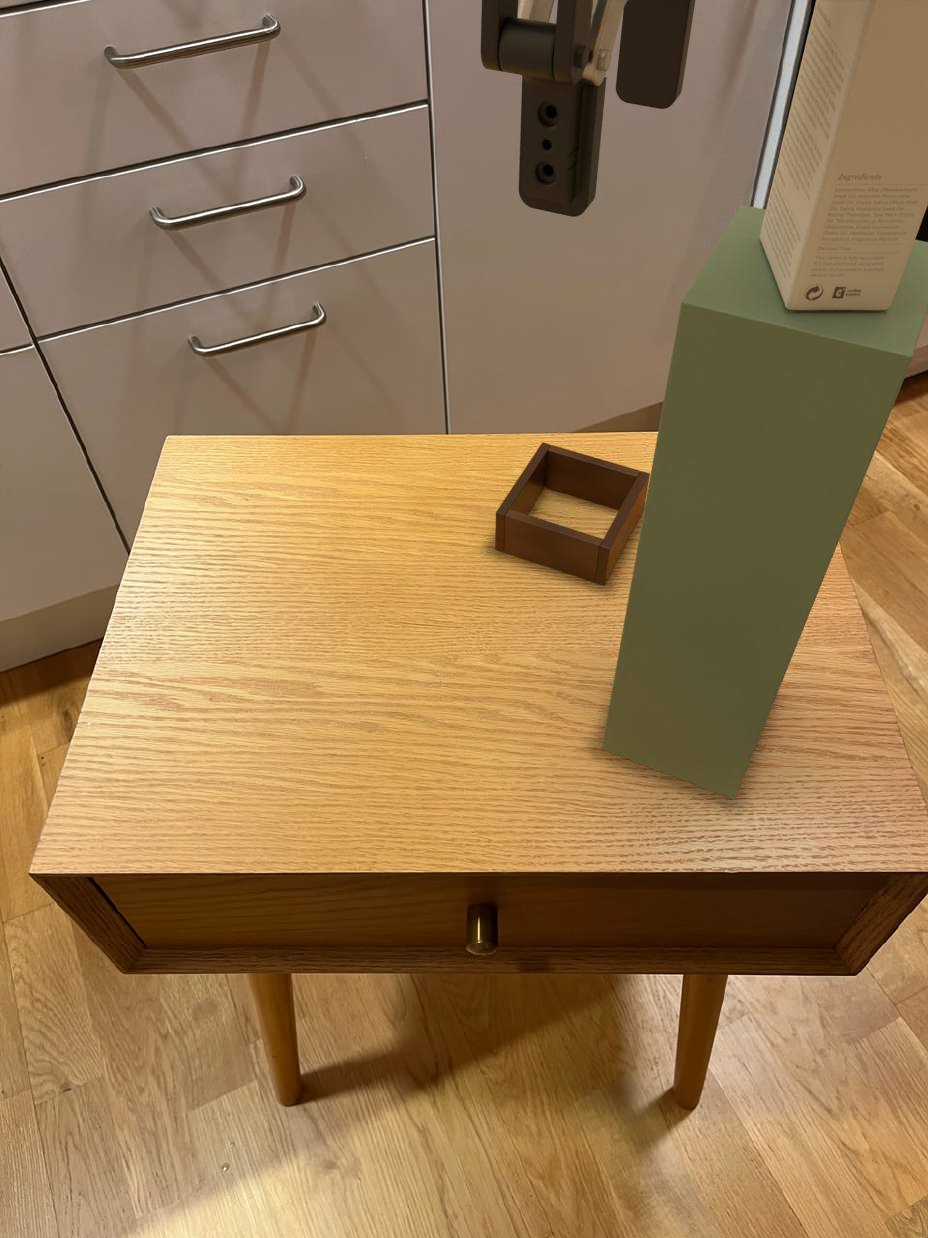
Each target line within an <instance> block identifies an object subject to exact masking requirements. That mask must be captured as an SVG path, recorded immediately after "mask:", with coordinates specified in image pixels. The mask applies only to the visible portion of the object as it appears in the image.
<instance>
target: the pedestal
mask: <svg viewBox="0 0 928 1238" xmlns="http://www.w3.org/2000/svg"><path fill="white" fill-rule="evenodd" d="M765 212H766V208H760V207H756V206H751V205H745V204H740V206H739V207H738V208H737V210H736V211H735V213H734V215H733V216H732V218H731V220H730V221H729V223H728V225H727V226H726V228H725V229H724V232H723V233H722V235H721V237H720V238H719V240H718V241H717V243H716V245H715V247H714V248H713V250H712V251H711V253H710V254H709V256H708V258H707V260H706V261H705V263H704V265H703V266H702V268H701V270H700V271H699V273H698V275H697V276H696V278H695V280H694V281H693V283H692V284H691V286H690V287H689V289H688V290H687V292H686V294H685V296H684V298H683V299H682V301H681V303H680V308H679V314H678V320H677V324H676V331H675V336H674V342H673V348H672V353H671V358H670V362H669V363H670V364H669V370H668V375H667V380H666V386H665V390H664V397H663V403H662V409H661V415H660V419H659V425H658V430H657V437H656V441H655V447H654V453H653V459H652V464H651V469H650V478H649V483H648V489H647V495H646V500H645V506H644V511H643V513H642V519H641V526H640V532H639V537H638V538H639V539H638V543H637V549H636V555H635V560H634V565H633V570H632V576H631V580H630V581H631V582H630V587H629V592H628V599H627V604H626V610H625V614H624V615H625V616H624V621H623V627H622V632H621V637H620V643H619V649H618V654H617V659H616V660H617V662H616V666H615V671H614V676H613V683H612V689H611V694H610V698H609V704H608V711H607V717H606V720H605V721H606V722H605V728H604V731H603V732H604V733H603V738H602V743H601V750H603V751H606V752H608V753H611V754H614V755H616V756H618V757H622V758H624V759H627V760H628V761H629V760H630V761H632V762H634V763H637V764H640V765H643V766H645V767H647V768H650V769H653V770H654V771H657V772H660V773H663V774H665V775H667V776H668V775H669V776H671V777H673V778H676V779H678V780H681V781H684V782H687V783H689V784H692V785H694V786H697V787H700V788H702V789H705V790H707V791H710V792H713V793H715V794H717V795H720V796H722V797H725V798H727V799H731V800H736V798H737V795H738V793H739V791H740V787H741V785H742V783H743V781H744V778H745V775H746V774H747V773H746V772H747V770H748V768H749V765H750V763H751V760H752V758H753V755H754V753H755V751H756V748H757V745H758V743H759V741H760V738H761V735H762V734H763V731H764V728H765V725H766V723H767V722H768V721H767V720H768V718H769V716H770V714H771V710H772V708H773V706H774V703H775V702H776V698H777V696H778V693H779V691H780V689H781V686H782V684H783V681H784V678H785V676H786V674H787V671H788V668H789V666H790V664H791V661H792V658H793V656H794V653H795V651H796V649H797V646H798V644H799V641H800V640H801V639H800V638H801V636H802V634H803V631H804V629H805V626H806V624H807V621H808V618H809V617H810V613H811V611H812V609H813V606H814V604H815V601H816V599H817V596H818V594H819V592H820V589H821V586H822V584H823V583H824V582H823V581H824V579H825V577H826V574H827V571H828V569H829V568H830V567H829V566H830V564H831V563H832V562H831V561H832V559H833V557H834V554H835V552H836V549H837V547H838V544H839V541H840V539H841V537H842V534H843V532H844V529H845V527H846V524H847V522H848V519H849V516H850V515H851V512H852V509H853V506H854V504H855V502H856V500H857V498H858V495H859V492H860V489H861V488H862V485H863V482H864V479H865V478H866V474H867V473H868V470H869V467H870V465H871V462H872V459H873V457H874V454H875V453H876V450H877V447H878V445H879V443H880V440H881V438H882V435H883V432H884V431H885V428H886V426H887V422H888V420H889V418H890V415H891V412H892V410H893V407H894V405H895V403H896V400H897V398H898V395H899V393H900V391H901V387H902V386H903V383H904V380H905V378H906V375H907V373H908V370H909V368H910V366H911V364H912V360H913V357H914V355H915V351H916V348H917V345H918V343H919V338H920V334H921V332H922V329H923V325H924V322H925V319H926V315H927V312H928V241H924V240H919V239H915V241H914V244H913V247H912V249H911V252H910V255H909V257H908V260H907V263H906V266H905V269H904V272H903V275H902V277H901V280H900V282H899V285H898V288H897V290H896V293H895V296H894V299H893V301H892V304H891V306H890V308H889V309H887V310H789V309H787V308H786V307H785V304H784V301H783V298H782V295H781V293H780V290H779V287H778V285H777V282H776V279H775V277H774V274H773V271H772V269H771V266H770V263H769V261H768V258H767V255H766V253H765V250H764V248H763V245H762V242H761V240H760V233H761V228H762V224H763V220H764V216H765Z"/></svg>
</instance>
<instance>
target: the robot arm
mask: <svg viewBox="0 0 928 1238" xmlns="http://www.w3.org/2000/svg"><path fill="white" fill-rule="evenodd" d="M554 4H555V0H481V16H480V17H481V18H480V19H481V20H480V21H481V22H480V57H481V58H480V59H481V64H482V66H483V68H484V69H486V70H490V71H496V72H503V73H508V74H513V75H520V76H521V100H520V101H521V103H520V131H519V132H520V134H519V136H520V137H519V161H518V162H519V163H518V165H519V166H518V167H519V168H518V195H519V198H520V200H521V201H522V203H523V204H524V205H526V206H527V207H529V208H531V209H534V210H539V211H542V212H543V211H544V212H549V213H552V214H557V215H561V216H566V217H572V218H575V217H580V216H581V215H583V214H584V213H585V211H587V209H588V208H589V207H590V205H591V204H592V203H593V202H594V200H595V199H596V194H597V186H598V185H597V182H598V174H599V173H598V172H599V163H600V154H601V153H600V151H601V142H602V141H601V140H602V131H603V120H604V109H605V97H606V90H607V89H606V88H607V77H606V75H607V72H608V71H609V68H610V65H611V62H612V53H613V50H614V46H615V42H616V38H617V35H618V31H619V27H620V23H621V30H620V40H619V50H618V59H617V60H618V62H617V69H616V78H615V79H616V80H615V81H616V82H615V92H616V95H617V97H618V98H619V100H621V101H622V102H623V103H626V104H630V105H637V106H642V107H648V108H652V109H657V110H665V109H668V108H670V107H672V105H673V104H674V103H675V102H676V101H677V99H678V98H679V97H680V96H681V94H682V91H683V86H684V85H683V84H684V79H685V71H686V65H687V60H688V52H689V46H690V41H691V40H690V39H691V32H692V25H693V19H694V12H695V6H696V0H557V6H556V7H557V8H556V9H557V10H556V19H555V23H554V22H550V20H551V15H552V12H553V7H554ZM621 20H622V21H621Z"/></svg>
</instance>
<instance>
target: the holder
mask: <svg viewBox="0 0 928 1238" xmlns="http://www.w3.org/2000/svg"><path fill="white" fill-rule="evenodd" d="M650 475H651V472H650V473H649V472H647V471H644V470H639V469H636V468H634V467H633V468H632V467H629V466H626V465H622V464H619V463H615V462H613V461H608V460H605V459H601V458H598V457H594V456H592V455H588V454H584V453H581V452H578V451H575V450H571V449H569V448H564V447H560V446H558V445H553V444H551V443H550V444H549V443H547V442H543V441H542V442H541V444H540V445H539V447H538V448H537V450H536V451H535V453H534V454H533V456H532V457H531V459H530V460H529V461H528V463H527V464H526V466H525V467H524V469H523V471H522V472H521V474H520V475H519V477H518V478H517V480H516V481H515V483H514V484H513V486H512V487H511V489H510V490H509V492H508V493H507V494H506V496H505V497H504V499H503V501H502V502H501V504H500V506H499V507H498V508H497V509H496V511H495V532H494V533H495V535H494V537H495V538H494V539H495V540H494V549H495V550H496V551H500V552H503V553H505V554H508V555H511V556H514V557H517V558H520V559H522V560H523V559H524V560H527V561H528V562H532V563H535V564H538V565H542V566H544V567H547V568H550V569H553V570H556V571H559V572H562V573H565V574H568V575H571V576H575V577H577V578H580V579H584V580H586V581H589V582H592V583H595V584H597V585H598V584H599V585H602V586H605V585H606V584H607V582H608V580H609V578H610V575H611V574H612V572H613V570H614V568H615V566H616V564H617V562H618V561H619V559H620V557H621V555H622V553H623V551H624V549H625V547H626V545H627V543H628V541H629V540H630V538H631V536H632V534H633V533H634V530H635V528H636V526H637V525H638V523H639V520H640V518H641V517H642V516H643V514H644V509H645V503H646V497H647V492H648V486H649V481H650ZM545 488H547V489H550V490H553V491H557V492H560V493H563V494H565V495H566V494H567V495H570V496H573V497H576V498H580V499H583V500H586V501H589V502H593V503H595V504H600V505H603V506H606V507H609V508H611V509H614V510H615V509H616V510H618V512H617V513H616V515H615V517H614V518H613V521H612V523H611V524H610V527H609V529H607V532H606V534H605V536H604V537H603V538H602V537H598V536H595V535H592V534H590V533H587V532H583V531H580V530H576V529H573V528H570V527H566V526H563V525H560V524H557V523H554V522H552V521H548V520H545V519H542V518H539V517H535V516H532V515H529V513H530V511H531V509H532V508H533V507H534V505H535V503H536V502H537V500H538V499H539V497H540V495H541V494H542V492H543V491H544V489H545Z"/></svg>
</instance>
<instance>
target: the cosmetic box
mask: <svg viewBox="0 0 928 1238" xmlns="http://www.w3.org/2000/svg"><path fill="white" fill-rule="evenodd" d="M780 145H781V146H780V150H779V154H778V159H777V163H776V167H775V171H774V175H773V179H772V184H771V187H770V192H769V195H768V200H767V204H766V208H765V209H766V212H765V216H764V220H763V224H762V228H761V233H760V240H761V242H762V245H763V248H764V250H765V253H766V255H767V258H768V261H769V263H770V266H771V269H772V271H773V274H774V277H775V279H776V282H777V285H778V287H779V290H780V293H781V295H782V298H783V301H784V304H785V307H786V308H787V309H789V310H887V309H889V308H890V306H891V304H892V301H893V299H894V296H895V293H896V290H897V288H898V285H899V282H900V280H901V277H902V275H903V272H904V269H905V266H906V263H907V260H908V257H909V255H910V252H911V249H912V247H913V244H914V241H915V240H916V238H917V235H918V233H919V230H920V228H921V225H922V222H923V219H924V216H925V214H926V211H927V209H928V0H815V4H814V8H813V14H812V17H811V20H810V25H809V28H808V33H807V37H806V42H805V45H804V51H803V54H802V59H801V62H800V67H799V70H798V75H797V79H796V83H795V87H794V92H793V96H792V99H791V104H790V107H789V113H788V116H787V121H786V126H785V129H784V134H783V137H782V141H781V144H780Z"/></svg>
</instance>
